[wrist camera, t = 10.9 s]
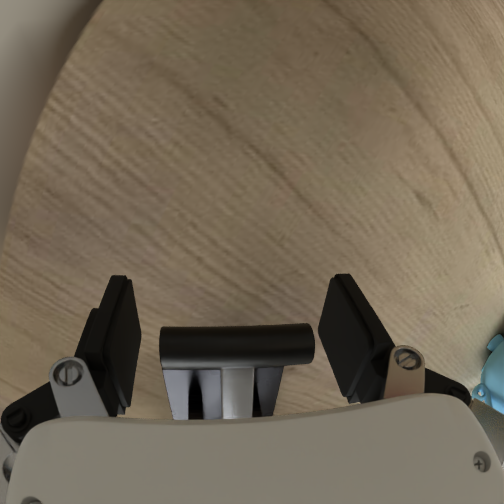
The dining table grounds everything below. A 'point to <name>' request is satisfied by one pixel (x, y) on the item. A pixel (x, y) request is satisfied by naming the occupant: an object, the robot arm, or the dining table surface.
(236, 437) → the robot arm
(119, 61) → the dining table surface
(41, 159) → the dining table surface
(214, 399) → the bracket
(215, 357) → the lever
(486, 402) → the teapot
